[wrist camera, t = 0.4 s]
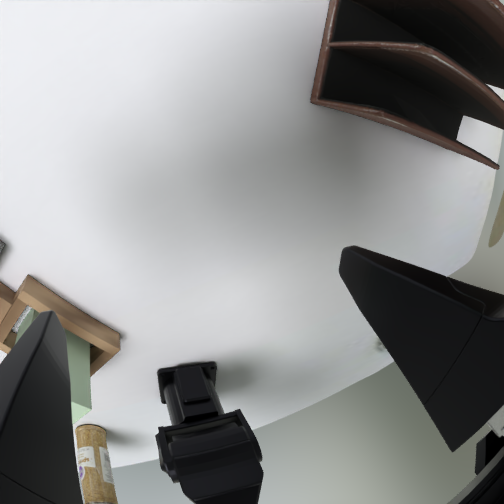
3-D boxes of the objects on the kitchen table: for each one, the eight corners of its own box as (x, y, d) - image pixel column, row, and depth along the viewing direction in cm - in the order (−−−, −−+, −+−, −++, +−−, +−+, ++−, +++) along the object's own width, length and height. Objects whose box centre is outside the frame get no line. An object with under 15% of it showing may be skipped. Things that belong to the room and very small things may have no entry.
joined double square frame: (125, 327, 25) (127, 343, 24) (72, 378, 26) (72, 393, 25) (-62, 182, 12) (-74, 192, 11) (-90, 268, 13) (-98, 281, 12)
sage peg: (90, 335, 24) (91, 409, 18) (69, 356, 25) (69, 427, 19) (36, 301, 21) (21, 377, 15) (18, 327, 21) (5, 399, 15)
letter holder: (328, -10, 16) (493, -28, 5) (462, 72, 24) (568, 107, 13) (306, 103, 21) (470, 157, 10) (445, 148, 29) (546, 201, 18)
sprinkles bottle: (74, 422, 30) (86, 516, 20) (107, 424, 32) (124, 517, 22) (75, 436, 32) (87, 521, 21) (105, 438, 34) (122, 522, 24)
